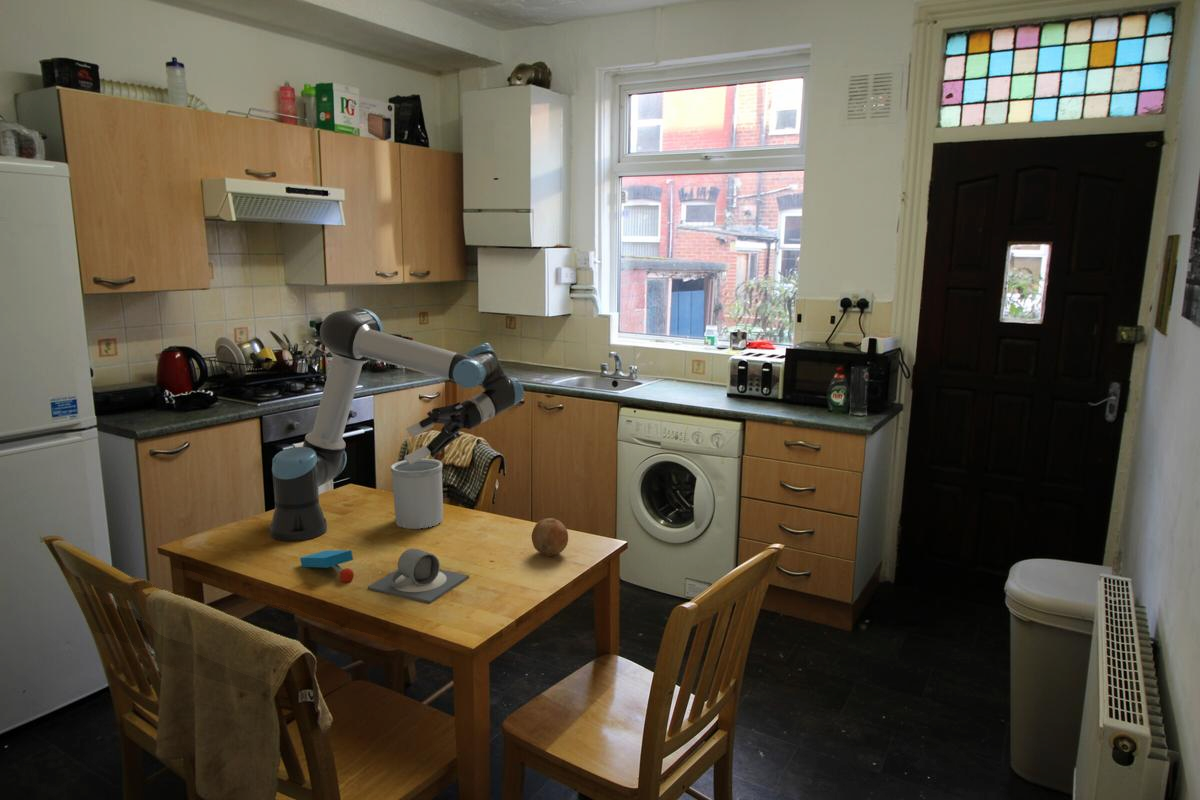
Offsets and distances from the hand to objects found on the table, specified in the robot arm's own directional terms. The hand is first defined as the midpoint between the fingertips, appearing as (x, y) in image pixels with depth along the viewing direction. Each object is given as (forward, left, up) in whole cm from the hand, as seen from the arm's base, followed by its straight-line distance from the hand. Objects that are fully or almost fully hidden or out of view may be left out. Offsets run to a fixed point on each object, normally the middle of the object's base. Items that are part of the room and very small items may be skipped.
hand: (408, 447), depth 205 cm
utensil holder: (-13, +20, -29) cm, 37 cm away
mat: (+14, -16, -29) cm, 36 cm away
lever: (-10, -20, -29) cm, 37 cm away
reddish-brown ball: (+34, +14, -29) cm, 47 cm away
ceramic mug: (+14, -18, -28) cm, 36 cm away
